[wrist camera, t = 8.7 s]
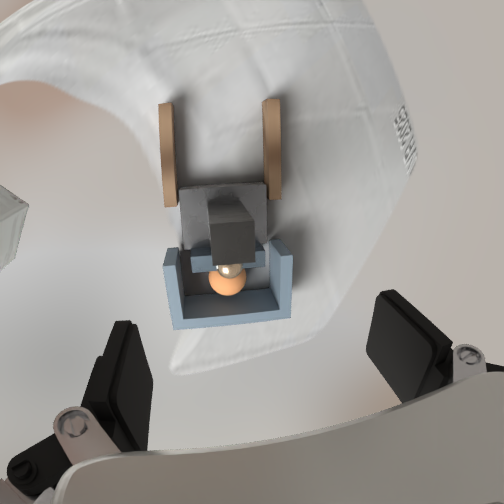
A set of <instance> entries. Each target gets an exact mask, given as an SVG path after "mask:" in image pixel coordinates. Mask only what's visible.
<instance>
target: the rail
mask: <svg viewBox="0 0 504 504" xmlns="http://www.w3.org/2000/svg"><path fill="white" fill-rule="evenodd" d="M158 105H159V134H160V153H161V169H162V182H163V194H164V205H165V207H175V206H177V205H178V202H179V199H178V186H177V172H176V155H175V135H174V106H173V105H172V103H163V104H158ZM262 112H263V153H264V183H265V184H266V197H267V198H268V199H269V200H278V199H281V128H280V99H266V100H265V101H263V102H262Z"/></svg>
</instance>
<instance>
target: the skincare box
mask: <svg viewBox="0 0 504 504" xmlns="http://www.w3.org/2000/svg"><path fill="white" fill-rule="evenodd" d="M28 207H29V204H28V203H26V202H25V201H23V200H21V199H20V198H18V197H17V196H15V195H14V194H13V193H11V192H10V191H9V190H7V189H6V188H4V187H3V186H1V185H0V271H1V270H2V269H4V268H5V267H6V266H7V265H8V264H9V263H10V262H11V261H12V260H14V259H15V256H16V252H17V247H18V243H19V239H20V235H21V232H22V228H23V225H24V220H25V217H26V213H27V210H28Z"/></svg>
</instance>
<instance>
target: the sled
mask: <svg viewBox="0 0 504 504" xmlns="http://www.w3.org/2000/svg"><path fill="white" fill-rule="evenodd" d="M179 200H180V212H181V223H182V233H183V243H184V250H189V249H191V266H192V273H197V272H209V271H218V273H219V274H220V275H221V276H222V277H224V278H227V279H232V278H235V277H237V276H238V275H239V274H240V273H241V271H242V269H243V268H254V267H265V250H264V248H263V246H262V245H261V244H262V243H267V197H266V184H265V183H263V182H250V183H232V184H216V185H202V186H189V187H180V189H179Z"/></svg>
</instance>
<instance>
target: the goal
mask: <svg viewBox="0 0 504 504" xmlns="http://www.w3.org/2000/svg"><path fill="white" fill-rule="evenodd" d="M269 255H270V288H267V289H258V290H248V291H239V292H238V293H236V294H234V295H229V296H226V295H221V294H219V293H216V294H205V295H193V296H185V295H184V288H183V280H182V273H181V265H180V256H179V248H178V247H177V248H168V249H167V252H166V256H165V260H164V263H163V271H164V278H165V284H166V290H167V296H168V302H169V308H170V314H171V319H172V324H173V329H174V330H180V329H193V328H205V327H216V326H227V325H236V324H246V323H254V322H263V321H271V320H279V319H286V318H291V298H292V268H293V255H292V253H291V252H290V251H289V250H288V249H287V247H286V246H285V245H284V244H283V242H282V241H281V240H280V239H276V240H269Z"/></svg>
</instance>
